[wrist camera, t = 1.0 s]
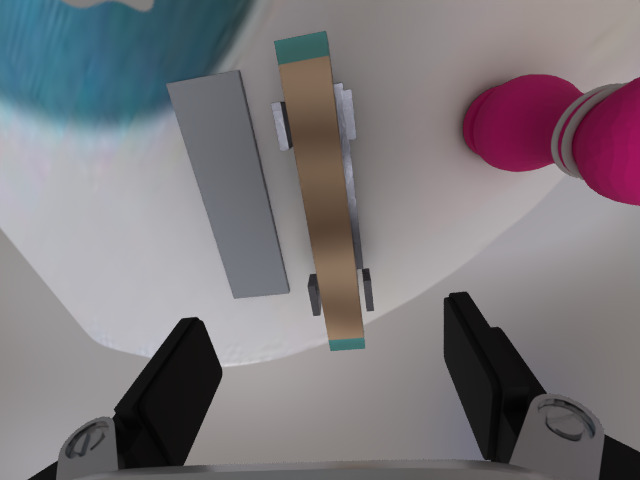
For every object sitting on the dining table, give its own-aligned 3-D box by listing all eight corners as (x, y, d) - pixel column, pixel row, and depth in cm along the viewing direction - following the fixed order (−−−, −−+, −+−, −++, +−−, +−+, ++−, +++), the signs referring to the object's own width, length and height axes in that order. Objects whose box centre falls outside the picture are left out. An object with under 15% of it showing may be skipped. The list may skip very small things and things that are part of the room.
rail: (283, 50, 20) (274, 41, 17) (327, 41, 20) (325, 30, 17) (331, 327, 29) (330, 350, 26) (363, 325, 29) (365, 348, 26)
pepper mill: (542, 146, 29) (887, 217, 11) (464, 172, 30) (649, 273, 12) (535, 65, 26) (975, -28, 8) (450, 97, 28) (658, 82, 9)
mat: (169, 84, 29) (165, 83, 28) (239, 70, 28) (237, 70, 27) (235, 295, 38) (234, 298, 38) (289, 290, 37) (289, 293, 37)
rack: (291, 92, 28) (267, 86, 19) (346, 82, 28) (349, 71, 19) (322, 269, 36) (315, 325, 27) (366, 264, 35) (374, 320, 26)
